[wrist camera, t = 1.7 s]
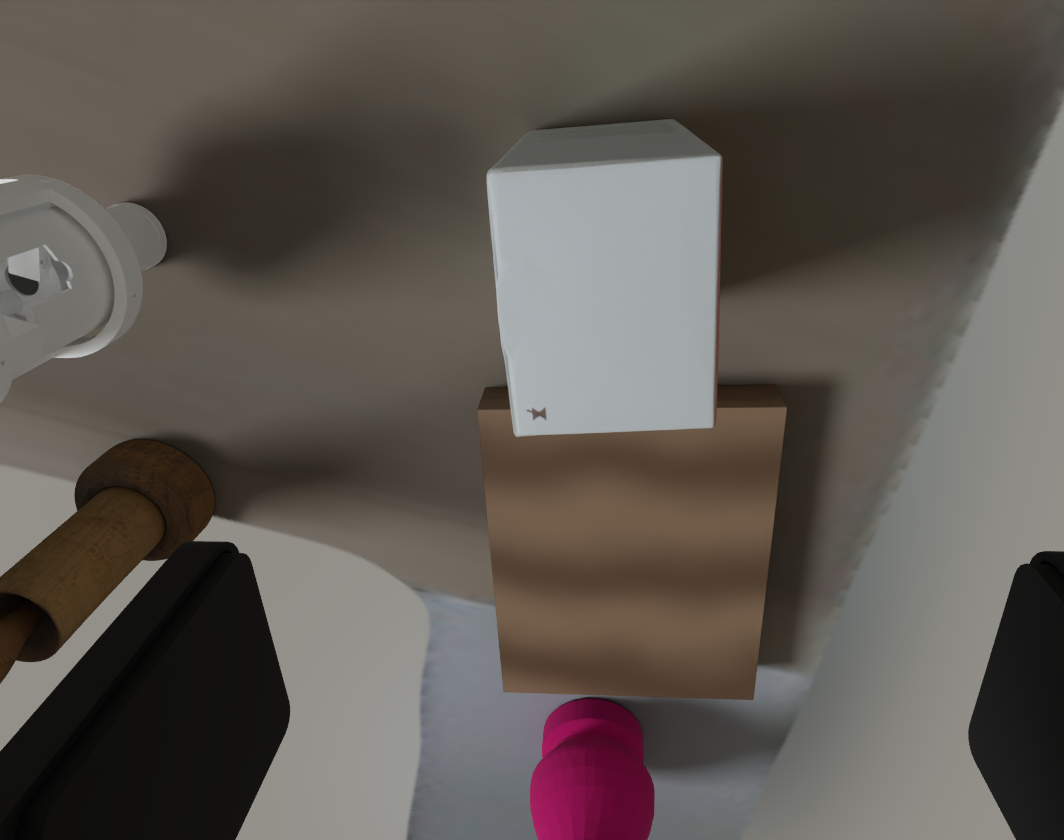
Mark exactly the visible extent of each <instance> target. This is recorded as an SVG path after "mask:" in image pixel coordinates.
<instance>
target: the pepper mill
mask: <svg viewBox="0 0 1064 840" xmlns="http://www.w3.org/2000/svg"><path fill="white" fill-rule="evenodd" d="M542 756H543V759H542V760H541V761H540V762H539V763H538V765H537V767H536V768H535V770H534V772H533V775H532V779H531V786H530V806H531V814H532V819H533V825H534V828H535V831H536V834H537V837H538V840H647V839H648V837H649V834H650V830H651V826H652V821H653V817H654V785H653V782H652V779H651V776H650V774H649V772H648V770H647V769H646V767H645V766H644V764H643V758H644V750H643V734H642V729H641V727H640V724H639V722H638V721H637V719H636V718H635V717H634V715H633V714H631V713H630V712H629V711H627V710H626V709H625V708H623V707H622V706H620V705H618V704H615V703H613V702H610V701H606V700H602V699H579V700H574V701H570V702H568V703H566V704H564V705H561V706H559V707H558V708H557V709H556V710H555V711H554V712H552V713H551V714H550V716H549V717H548V719H547V720H546V723H545V726H544V732H543V743H542Z"/></svg>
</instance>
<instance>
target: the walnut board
mask: <svg viewBox="0 0 1064 840" xmlns="http://www.w3.org/2000/svg"><path fill="white" fill-rule="evenodd" d="M477 412H478V423H479V433H480V444H481V455H482V466H483V476H484V487H485V498H486V509H487V519H488V530H489V541H490V551H491V562H492V573H493V584H494V594H495V605H496V616H497V627H498V637H499V648H500V659H501V670H502V680H503V691H504V692H517V693H549V694H581V695H613V696H645V697H677V698H709V699H741V700H753V698H754V690H755V681H756V672H757V664H758V655H759V646H760V638H761V629H762V620H763V612H764V603H765V594H766V586H767V577H768V568H769V560H770V551H771V542H772V534H773V525H774V516H775V508H776V499H777V490H778V482H779V473H780V464H781V456H782V447H783V438H784V430H785V421H786V412H787V406H786V404H785V402H784V401H783V399H782V397H781V395H780V393H779V391H778V389H777V387H776V385H717V415H716V425H715V427H713V428H696V429H677V430H653V431H630V432H609V433H583V434H556V435H535V436H521V437H516V436H515V434H514V431H513V423H512V415H511V408H510V400H509V391H508V388H485V390H484V392H483V395H482V398H481V401H480V404H479V407H478V409H477Z"/></svg>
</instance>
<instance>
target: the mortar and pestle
mask: <svg viewBox="0 0 1064 840" xmlns="http://www.w3.org/2000/svg"><path fill="white" fill-rule="evenodd" d="M75 503H76V507H77V512H76V513H75V514H74V515H72V516H71V517H70V518H69V519H68V520H67V521H65V522H64V523H63V524H62V525H61V526H60V527H58V528H57V529H56V530H55V531H54V532H53V533H51V534H50V535H49V536H48V537H47V538H45V539H44V540H43V541H42V542H41V543H40V544H38V546H36V547H35V548H34V549H33V550H31V551H30V552H29V553H28V554H27V555H26V556H25V557H24V558H23V559H21V560H20V561H19V562H18V563H16V564H15V565H14V566H13V567H12V568H10V569H9V570H8V571H7V572H6V573H5V574H3V575H2V576H1V577H0V683H1V682H2V681H3V679H4V678H5V677H6V675H7V674H8V672H9V671H10V669H11V667H12V666H13V664H14V662H15V661H16V660H17V661H23V662H37V661H42V660H46V659H48V658H50V657H51V656H53V655H54V654H55V653H56V652H57V651H58V650H59V649H60V648H61V647H62V646H63V644H64V643H65V642H66V641H67V640H68V639H69V638H70V637H71V636H72V634H73V633H74V632H75V631H76V630H77V629H78V628H79V627H80V626H81V625H82V623H83V622H84V621H85V620H86V619H87V618H88V617H89V616H90V615H91V614H92V612H93V611H94V610H95V609H96V608H97V607H98V606H99V605H100V604H101V603H102V602H103V601H104V600H105V598H107V596H108V595H109V594H110V593H111V592H112V591H113V590H114V589H115V588H116V587H117V586H118V585H119V584H120V583H121V582H122V580H123V579H124V578H125V577H126V576H127V575H128V574H129V573H130V572H131V571H132V570H133V569H134V568H135V567H136V566H137V565H138V564H139V563H140V562H141V561H142V560H147V561H156V560H163V559H168V558H169V557H170V556H171V555H172V554H173V552H174V551H175V550H176V549H177V548H178V547H179V546H180V545H181V544H183V543H185V542H189V541H193V540H194V539H195V538H196V537H197V536H198V534H199V533H201V531H202V530H203V529H204V528H205V527H206V526H207V524H208V523H209V521H210V520H211V517H212V515H213V512H214V505H215V499H214V493H213V490H212V487H211V484H210V482H209V480H208V478H207V476H206V475H205V473H204V472H203V470H202V469H201V468H200V467H199V466H198V465H197V464H196V463H195V462H194V461H193V460H192V459H190V458H189V457H188V456H186V455H185V454H183V453H182V452H180V451H179V450H177V449H175V448H173V447H171V446H168V445H166V444H163V443H159V442H156V441H150V440H129V441H125V442H122V443H120V444H117V445H116V446H114V447H112V448H111V449H109V450H108V451H107V452H105V453H104V454H103V455H102V456H100V457H99V458H98V459H97V460H96V461H94V462H93V463H92V464H91V465H89V466H88V467H87V468H86V469H85V470H84V471H83V472H82V474H81V475H80V477H79V479H78V481H77V483H76V487H75Z"/></svg>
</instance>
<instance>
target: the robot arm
mask: <svg viewBox="0 0 1064 840" xmlns="http://www.w3.org/2000/svg"><path fill="white" fill-rule="evenodd" d="M289 718H290V704H289V699H288V696H287V692H286V688H285V684H284V681H283V677H282V673H281V670H280V666H279V662H278V658H277V655H276V651H275V647H274V644H273V640H272V636H271V633H270V629H269V625H268V622H267V618H266V614H265V611H264V607H263V603H262V599H261V596H260V593H259V589H258V585H257V581H256V577H255V574H254V570H253V567H252V563H251V561H250V558H249V557H248V556H247V554H243V553H239V551H238V549H237V547H236V546H235V545H234V544H233V543H230V542H203V541H197V542H196V541H189V542H185V543H183V544H181V545H180V546H179V547H178V548H177V549H176V550H175V551H174V552H173V554H172V555H171V556H170V557H169V558H168V559H167V561H166V562H165V563H164V564H163V565H162V566H161V567H160V568H159V570H158V571H157V572H156V573H155V574H154V575H153V577H152V578H151V579H150V580H149V581H148V582H147V583H146V585H145V586H144V587H143V588H142V589H141V590H140V591H139V593H138V594H137V595H136V596H135V597H134V598H133V600H132V601H131V602H130V603H129V604H128V605H127V607H126V608H125V609H124V610H123V611H122V612H121V613H120V615H119V616H118V617H117V618H116V619H115V620H114V622H113V623H112V624H111V625H110V626H109V627H108V628H107V630H106V631H105V632H104V633H103V634H102V635H101V636H100V637H99V639H98V640H97V641H96V642H95V643H94V645H93V646H92V647H91V648H90V649H89V650H88V651H87V652H86V654H85V655H84V656H83V657H82V658H81V659H80V660H79V662H78V663H77V664H76V665H75V666H74V667H73V669H72V670H71V671H70V672H69V673H68V675H66V677H65V678H64V679H63V680H62V681H61V682H60V683H59V685H58V686H57V687H56V688H55V690H53V692H52V693H51V694H50V695H49V696H48V697H47V698H46V700H45V701H44V702H43V703H42V704H41V705H40V707H39V708H38V709H37V710H36V711H35V712H34V713H33V715H32V716H31V717H30V718H29V719H28V720H27V721H26V723H25V724H24V725H23V726H22V727H21V728H20V730H19V731H18V732H17V733H16V734H15V735H14V736H13V738H12V739H11V740H10V741H9V742H8V743H7V744H6V746H5V747H4V748H3V749H2V750H1V751H0V840H235V839H236V837H237V835H238V833H239V831H240V829H241V827H242V824H243V822H244V820H245V818H246V816H247V814H248V812H249V810H250V808H251V805H252V803H253V801H254V799H255V797H256V795H257V792H258V791H259V788H260V786H261V784H262V782H263V780H264V778H265V776H266V773H267V771H268V769H269V767H270V765H271V763H272V761H273V759H274V757H275V754H276V752H277V750H278V748H279V746H280V744H281V742H282V740H283V737H284V735H285V733H286V730H287V728H288V723H289ZM968 732H969V733H968V734H969V745H970V749H971V753H972V756H973V758H974V760H975V762H976V764H977V766H978V768H979V770H980V772H981V774H982V776H983V778H984V780H985V781H986V783H987V785H988V787H989V789H990V791H991V793H992V795H993V797H994V799H995V800H996V802H997V804H998V806H999V808H1000V810H1001V812H1002V814H1003V816H1004V818H1005V819H1006V821H1007V823H1008V825H1009V827H1010V829H1011V831H1012V833H1013V835H1014V836H1015V838H1016V840H1064V552H1055V551H1053V552H1052V551H1044V552H1040V553H1037V554H1036V555H1035V556H1034V557H1033V558H1032V560H1031V562H1030V564H1023V565H1021V566H1020V567H1019V568H1018V569H1017V571H1016V573H1015V575H1014V579H1013V582H1012V585H1011V589H1010V592H1009V595H1008V599H1007V602H1006V605H1005V608H1004V612H1003V615H1002V618H1001V622H1000V625H999V628H998V632H997V635H996V638H995V642H994V645H993V648H992V652H991V655H990V659H989V662H988V665H987V669H986V672H985V675H984V678H983V682H982V685H981V688H980V692H979V695H978V698H977V701H976V705H975V708H974V711H973V715H972V718H971V721H970V725H969V731H968Z"/></svg>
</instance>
